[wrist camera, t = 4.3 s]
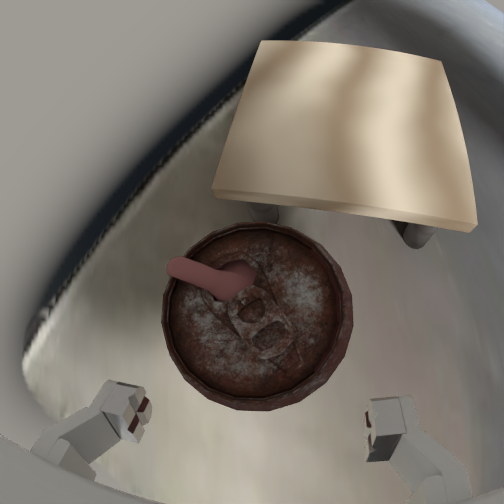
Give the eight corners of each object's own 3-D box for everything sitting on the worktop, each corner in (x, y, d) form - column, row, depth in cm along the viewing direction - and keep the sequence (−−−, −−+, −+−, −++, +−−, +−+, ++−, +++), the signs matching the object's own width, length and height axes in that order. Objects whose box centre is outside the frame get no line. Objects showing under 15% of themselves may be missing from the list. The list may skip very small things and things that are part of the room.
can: (254, 291, 24) (188, 191, 11) (338, 316, 22) (379, 239, 9) (225, 369, 22) (116, 361, 9) (310, 398, 20) (316, 444, 7)
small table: (424, 114, 27) (441, 61, 20) (437, 264, 22) (477, 224, 15) (271, 96, 30) (261, 40, 24) (236, 236, 25) (210, 188, 19)
